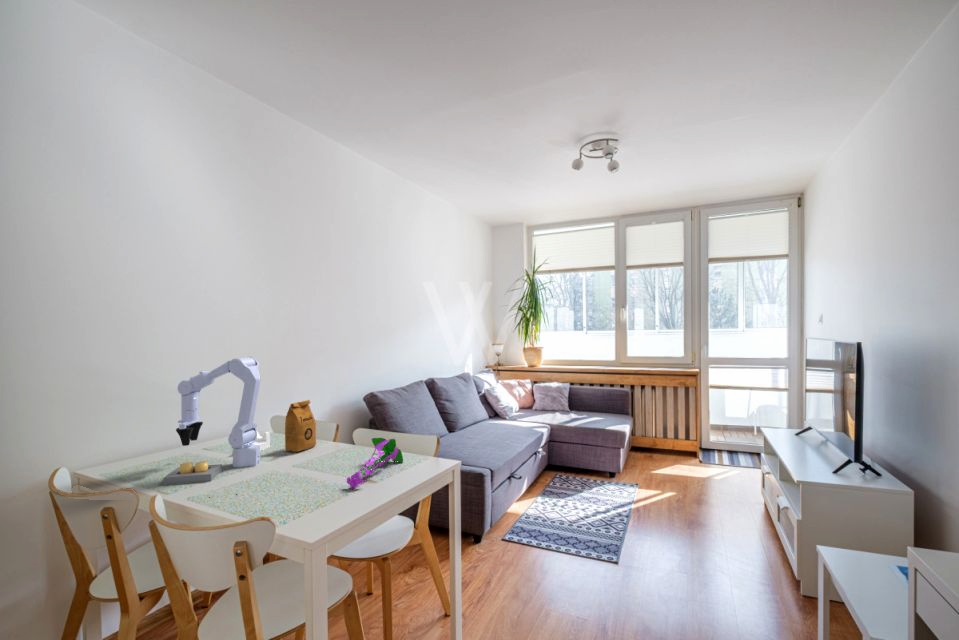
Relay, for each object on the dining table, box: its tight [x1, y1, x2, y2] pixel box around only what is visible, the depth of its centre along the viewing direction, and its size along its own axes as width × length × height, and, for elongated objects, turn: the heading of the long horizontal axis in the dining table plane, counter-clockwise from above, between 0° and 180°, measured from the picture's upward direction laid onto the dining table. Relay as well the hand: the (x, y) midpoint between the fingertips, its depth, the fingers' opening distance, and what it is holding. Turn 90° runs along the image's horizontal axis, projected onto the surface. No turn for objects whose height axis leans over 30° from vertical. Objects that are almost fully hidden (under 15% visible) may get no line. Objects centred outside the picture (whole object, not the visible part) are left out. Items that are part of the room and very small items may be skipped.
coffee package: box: [284, 399, 317, 453], centre depth 198 cm, size 10×12×22 cm
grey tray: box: [162, 463, 223, 486], centre depth 158 cm, size 15×11×4 cm
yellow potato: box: [194, 461, 209, 473], centre depth 159 cm, size 4×4×5 cm
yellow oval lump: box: [179, 461, 194, 474], centre depth 158 cm, size 4×4×5 cm
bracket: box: [253, 430, 271, 452], centre depth 196 cm, size 13×7×8 cm, turn 171°
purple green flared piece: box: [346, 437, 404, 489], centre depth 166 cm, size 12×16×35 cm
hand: (189, 442), depth 176 cm, fingers open, 7 cm apart
